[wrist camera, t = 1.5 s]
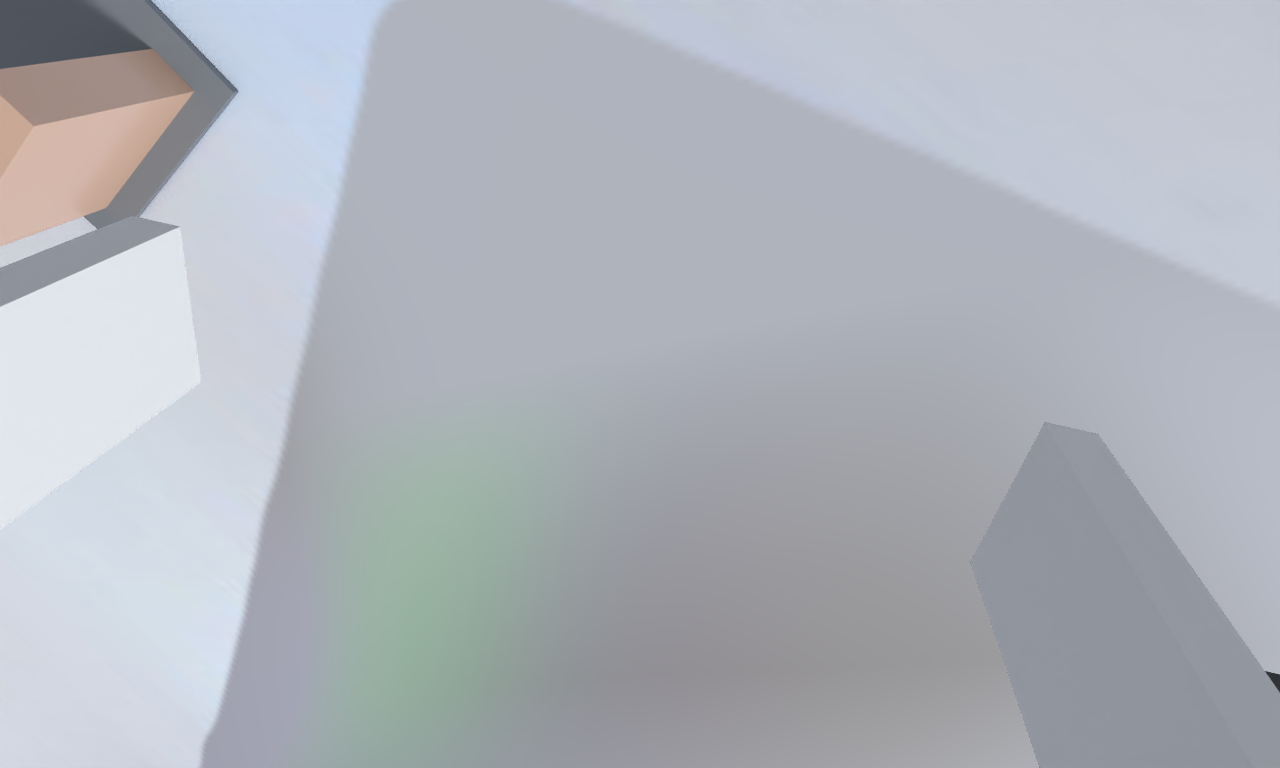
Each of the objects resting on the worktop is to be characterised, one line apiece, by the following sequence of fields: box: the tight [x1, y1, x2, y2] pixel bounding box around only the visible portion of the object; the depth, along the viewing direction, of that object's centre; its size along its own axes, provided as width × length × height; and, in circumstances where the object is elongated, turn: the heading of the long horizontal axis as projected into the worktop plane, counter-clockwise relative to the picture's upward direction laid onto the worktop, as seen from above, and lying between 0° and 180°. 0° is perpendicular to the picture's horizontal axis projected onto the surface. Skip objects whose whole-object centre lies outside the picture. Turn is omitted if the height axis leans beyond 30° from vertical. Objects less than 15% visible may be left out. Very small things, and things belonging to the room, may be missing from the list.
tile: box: [0, 49, 194, 246], centre depth 33 cm, size 2×9×9 cm, turn 130°
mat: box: [0, 0, 238, 229], centre depth 36 cm, size 14×12×1 cm
